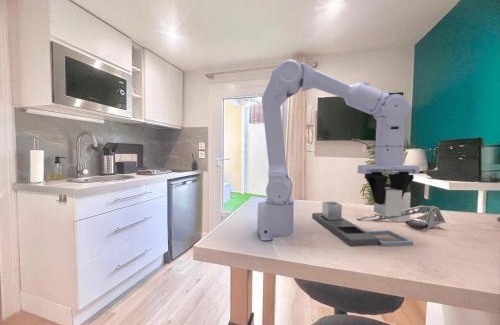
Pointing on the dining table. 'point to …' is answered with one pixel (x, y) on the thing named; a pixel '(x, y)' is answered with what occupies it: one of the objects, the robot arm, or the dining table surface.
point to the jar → (404, 205)
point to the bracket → (430, 215)
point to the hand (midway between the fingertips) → (387, 203)
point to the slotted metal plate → (347, 231)
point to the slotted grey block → (331, 211)
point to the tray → (403, 241)
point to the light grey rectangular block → (390, 203)
